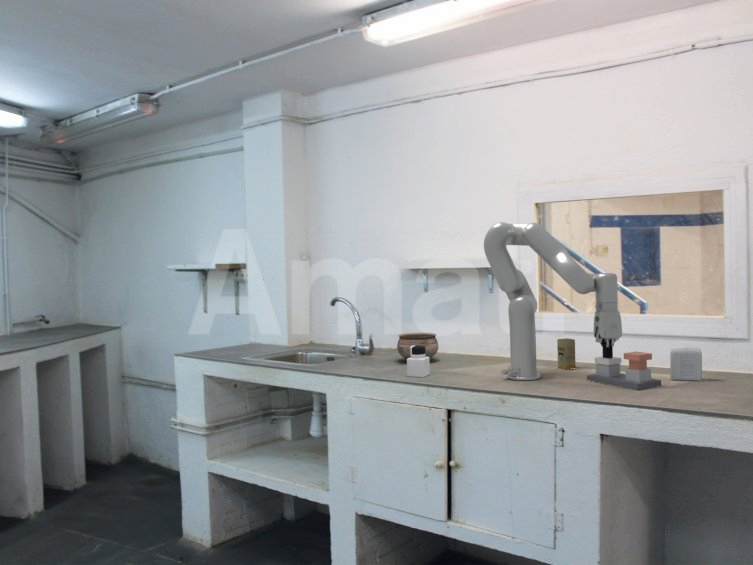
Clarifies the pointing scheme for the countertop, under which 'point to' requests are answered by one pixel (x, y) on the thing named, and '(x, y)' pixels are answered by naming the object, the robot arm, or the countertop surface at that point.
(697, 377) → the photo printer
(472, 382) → the countertop surface
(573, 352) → the shoe polish box
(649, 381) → the block
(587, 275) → the robot arm
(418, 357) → the medicine bottle
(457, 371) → the countertop surface
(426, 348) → the cooking pot
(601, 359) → the white plunger
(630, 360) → the salmon pink block
